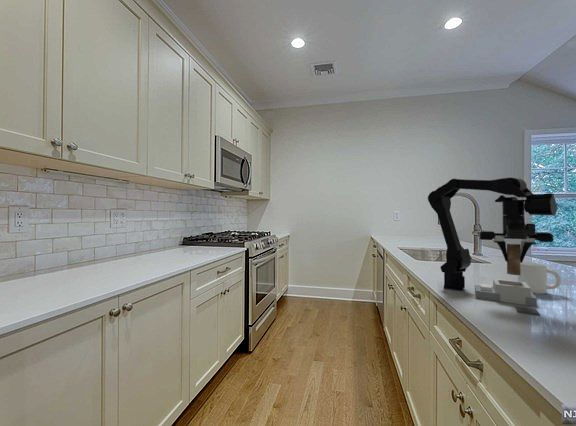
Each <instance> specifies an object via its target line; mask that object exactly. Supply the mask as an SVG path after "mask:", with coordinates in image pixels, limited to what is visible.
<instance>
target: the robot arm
mask: <svg viewBox="0 0 576 426" xmlns="http://www.w3.org/2000/svg"><path fill="white" fill-rule="evenodd" d="M460 190H475V191H488V192H494V193H497V194H501V195H500V196H499V197H498V198H496V199H495V200H494V203H502V209H501V210H502V232H495V231H493V230H480V231H479V234H478V237H479V240H480V241H481V240H483V241H484V240H485V241H492V242H493V243H494V244H495V243H496V244H497V245H498V247H499V249H500V251H501V254H502V256H503V258H504V261H505V262H506V263H507V243H506V241H505V239H510V240H521V242H520V262H521V263H522V262H524V259H525V256H526V255H527V253H528V250H529V249H530V247H531V246H532V245H536V244H537V242H536V241H538V242H540V243H553V242H554V234H553V233H551V232H547V231H546V232H543V231H536V224H535V223H526V222H525V213H528V215H529V216H555V215H556V214H557V211H558V203H556V198H555V194H554V193H551V192H549V193H548V192H547V193H541V194H534V193H533V192H532V191H531V190H530V189H529V188H528V187H527V183H526V181H525V180H524V179H522V178H516V177H503V178H497V179H489V180H487V179H485V180H484V179H461V178H452V179H450V180H449V181H447V182H446V183H445V184H443V185H441V186H439V187H437V188H436V189H435V190H432V191H431V192H430V193H429V194H428V195H427V201H428V203H429V205H430V207H431V208H432V210H433V211H434V212H435V213H436V214H437V215H436V216H437V218H438V221H439V222H438V223H439V225H440V227H441V231H442V234H443V238H444V241H445V244H446V252H445V259H446V261H445V262H444V263H443V264H442V265H441V266H440V267H439V268H440V270H441V273H444V274H443V275H444V276H443V278H444V279H443V280H444V281H443V282H444V283H443V288H444V289H450V290H457V291H464V289H465V288H466V287H465V285H466V284H465V283H466V282H465V279H466V278H465V275H464V272H466V270H467V268H468V267H470V266H471V264H472V260H473V258H472V256H471V254H470V250H469V248H464V247H463V246H462V243H461V242H460V239H459V235H458V233H457V229H456V226H455V222H454V220H453V216H452V214H451V207H452V200H451V199H452V198H453V197H455V196H456V194H458V192H459V191H460ZM505 195H506V196H505ZM519 198H521V199H519ZM522 198H523V199H522Z"/></svg>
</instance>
